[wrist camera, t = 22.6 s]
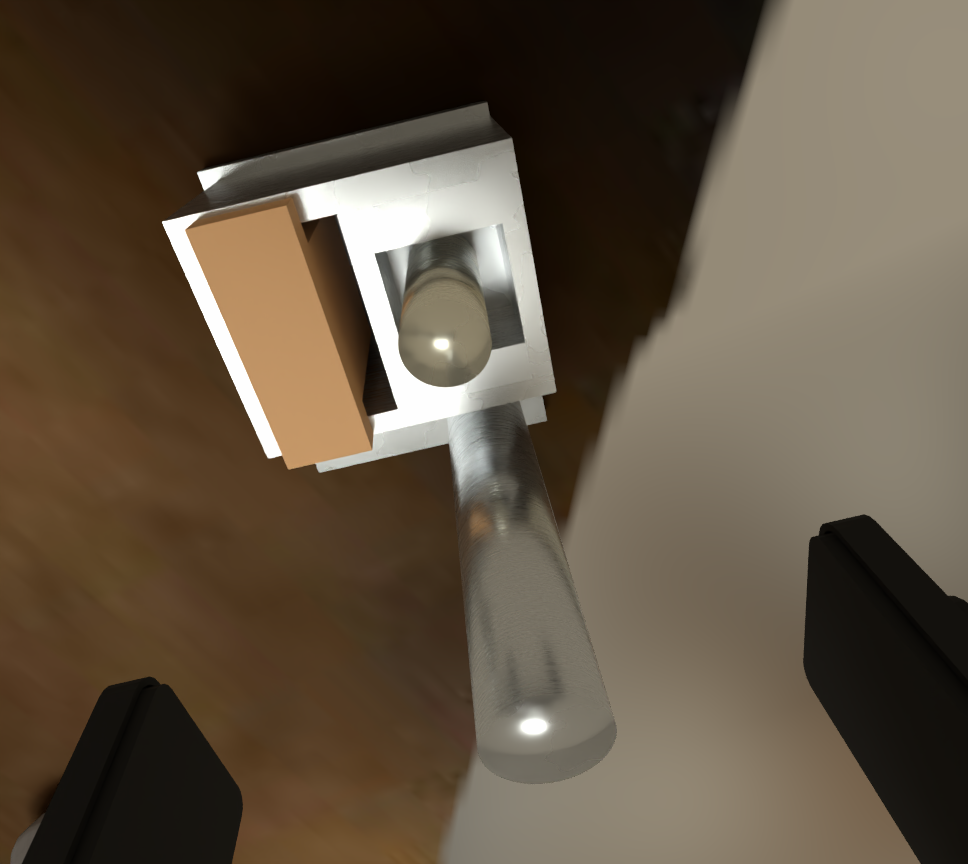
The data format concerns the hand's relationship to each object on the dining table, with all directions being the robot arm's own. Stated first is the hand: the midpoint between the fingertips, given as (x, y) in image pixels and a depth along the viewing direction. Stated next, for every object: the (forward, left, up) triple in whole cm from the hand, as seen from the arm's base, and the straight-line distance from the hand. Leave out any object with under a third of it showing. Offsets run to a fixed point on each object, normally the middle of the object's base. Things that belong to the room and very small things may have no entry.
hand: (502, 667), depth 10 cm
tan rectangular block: (0, -6, -23) cm, 24 cm away
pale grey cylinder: (0, 0, -20) cm, 20 cm away
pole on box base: (+2, -3, -24) cm, 24 cm away
